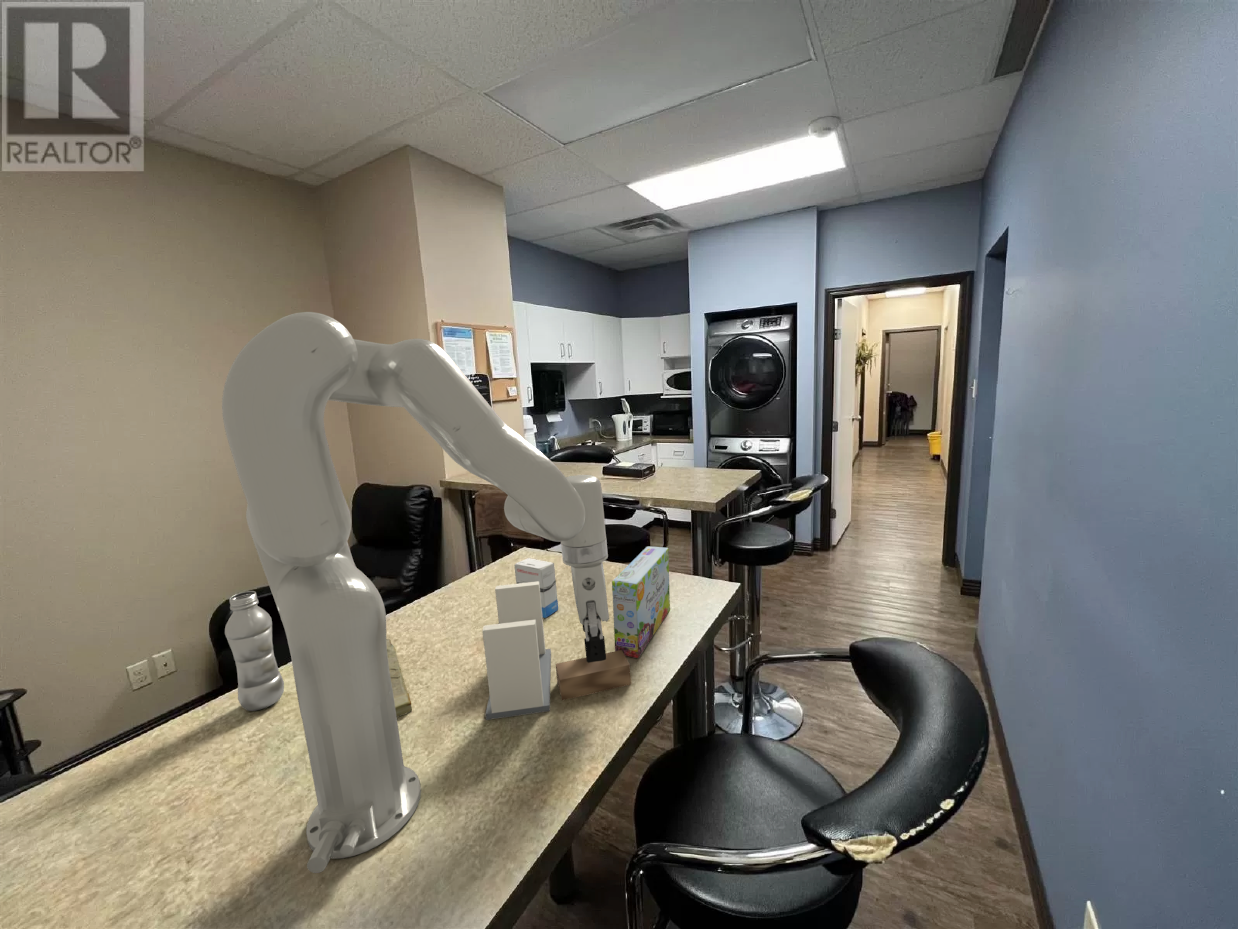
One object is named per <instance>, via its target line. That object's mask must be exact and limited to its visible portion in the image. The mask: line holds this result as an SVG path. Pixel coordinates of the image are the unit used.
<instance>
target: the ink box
mask: <svg viewBox="0 0 1238 929" xmlns="http://www.w3.org/2000/svg"><path fill="white" fill-rule="evenodd" d="M513 566H514V575H515V584H518V583H528V582H537V581H539V586H540V596H541V607H542V618H544V619H547V618H548V617H550V616H551V615H552V614H554V613H555V612H557V611H559V602H558V591H557V581H556V579H557V578H556V570H555V562H551V561H546V560H541V559H535V558H531V557H528V558H525V559H523V560H521V561H518V562H516V563H515V564H514V565H513Z"/></svg>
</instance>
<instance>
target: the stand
mask: <svg viewBox="0 0 1238 929" xmlns="http://www.w3.org/2000/svg"><path fill="white" fill-rule="evenodd" d="M494 592H495V600H496V611H497V619H498V623H495V624H486V625H483V627H482V639H483V648H484V658H485V666H486V672H487V683H488V691H489V696H488V700H487V705H486V709H485V720H486V721H489V720H496V719H500V718H501V719H502V718H503V719H504V718H509V717H517V716H522V715H523V716H524V715H531V714H538V713H544V712H545V713H546V712H551V678H552V677H551V673H552V672H551V670H552V667H551V666H552V650H551V648H546V642H545V640H546V639H545V631H544V630H545V629H544V620H543V617H542V607H541V596H540V586H539V581H537V582H528V583H518V584H516V583H511V584H504V585H503V584H500V585H495V591H494Z"/></svg>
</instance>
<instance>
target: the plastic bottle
mask: <svg viewBox="0 0 1238 929" xmlns="http://www.w3.org/2000/svg"><path fill="white" fill-rule="evenodd" d="M228 600H229V604H230V605H229V609H230V611H231V612H232V613H231V615H230V617H229V618H228V621H227V622H226V624H225V628H224V635H225V638H226V640H227V643H228V645H229V648H230V649H231V652H232V655H233V660H234V661H235V663H234V664H235V666H236V673H237V683H238V685H237V700H238V702H239V705H240V707H241V708H242V709H244V710H245V711H249V712H256V711H260V710H263V709H266V708H268V707H271V706H272V705H274V704H276V703H277V702H278V701H280V699H281V698H282V696H283V694H284V691H285V682H284V679H283V676H282V673H281V672H280V671H279V667H278V663H277V659H276V657H275V653H274V644H273V621H272V617H271V616H270V614H269V613H268V612H267V611H266V610H265V609H264V608H262V607H260V606H258V604H259V603H260V602H259V599H258V595H257V592H256V591H254V590H248V591H243V592H239V593H236V594H234V595H232V596H230V597H229V599H228Z"/></svg>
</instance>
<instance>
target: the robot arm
mask: <svg viewBox="0 0 1238 929" xmlns="http://www.w3.org/2000/svg"><path fill="white" fill-rule="evenodd" d="M229 368H230V369H229V371H228V373H227V376H226V378H225V379H226V380H225V383H224V385H223V391H222V398H221V399H222V400H221V411H222V413H221V414H222V420H223V421H222V422H223V426H224V432H225V435H226V436H225V437H226V439H227V442H228V446H229V449H230V452H231V456H232V460H233V462H234V465H235V470H236V473H237V476H238V480H239V482H240V485H241V490H242V492H243V494H244V498H245V500H246V503H247V507H246V512H245V513H246V514H245V517H246V518H245V519H246V523H247V526H248V530H249V532H250V536H251V538H252V541H253V545H254V547H255V550H256V552H257V556H258V558H259V561H260V564H261V566H262V567H261V568H262V570H263V573H264V575H265V577H266V581H267V583H268V586H269V588H270V591H271V594H272V596H273V599H274V602H275V605H276V609H277V611H278V614H279V616H280V620H281V622H282V625H283V628H284V632H285V636H286V639H287V644H288V648H289V653H290V656H291V657H290V659H291V665H292V671H293V678H294V683H295V690H296V696H297V701H298V706H299V712H300V717H301V720H302V726H303V731H304V737H305V741H306V747H307V753H308V758H309V764H310V765H309V766H310V770H311V774H312V780H313V785H314V791H315V796H316V802H317V805H316V806H315V808H314V810H313V811H312V812H311V814H310V816H309V818H308V821H307V825H306V830H305V831H306V832H305V833H306V838H307V844H308V846H309V848H310V850H311V851H312V854H311V855H310V858H309V860H308V861H307V863H306V868H307V870H308V871H309V872H311V873H313V874H319V873H322V872H323V871H324V870H325V869H326V868H327V867H328V863H329V862H330V860H331V859H332V860H333V859H344V858H350V857H354V856H356V855H357V856H358V855H360V854H363V853H366V852H368V851H370V850H372V849H374V848H376V847H378V846H379V845H381V844H383V843H384V842H386V841H387V840H390V838H391V837H393V836H394V835H395V834H396V833H397V832H399V831H400V830H401V829H402V828H403V826H404V825H406V824H407V823H408V821H409V820H410V819H411V817H412V816H413V814H415V811H416V810H417V808H418V805H419V803H420V800H421V795H422V794H421V793H422V788H421V781H420V779H419V775H418V774H417V773H416V771H415V770H414V769H411V768H410V767H408V766H405V763H404V757H403V751H402V745H401V738H400V737H401V736H400V732H399V726H398V725H399V723H398V717H396V710H395V703H394V696H393V689H392V683H391V678H390V671H389V664H388V656H387V643H386V639H387V613H386V608H385V603H384V601H383V598H382V596H381V594H380V592H379V590H378V588H376V585H375V584H374V583H373V581H372V580H371V579H370V578H369V577H367V575H365V574H364V572H363V571H362V570H360V569H359V568H357V566H356V564H355V562H354V559H353V556H352V553H351V548H350V546H349V543H348V540H349V539H350V538H349V537H350V535H351V532H352V516H351V511H350V508H349V505H348V502H347V501H346V497H345V496H344V493H343V489H342V486H341V483H340V480H339V477H338V473H337V471H336V468H335V465H334V461H333V459H332V455H331V451H330V447H329V446H330V445H329V442H328V438H327V434H326V429H325V421H324V420H325V410H326V407H327V403H328V402H329V401H333V402H340V403H342V402H343V403H349V404H357V405H365V406H366V405H367V406H378V407H390V408H394V407H395V408H404V410H406V412H407V413H408V414H409V415H410V416H411V417H412V418H413V419H414V420H415V421H416V422H417V423H418V424H419V426H421V427H422V428H423V430H424V431H426V432H427V433H428V435H429V436H430V437H431V438H432V439H433V440H434V441H435V442H436V443H437V444H438V445H439V446H440V448H441V449H442V450H443V451H444V452H445V453H446V454H447V455H448V456H449V458H451V459H452V460H453V461H454V462H455V463H456V464H457V465H459V466H460V467H461V468H463V469H465V470H466V471H467V472H469V473H470V474H472V475H474V476H476V477H478V478H480V479H482V480H484V481H486V482H488V483H490V484H491V485H493V486H495V487H496V488H498V489H499V490H501V491H502V492H503V493H505V494H506V495H507V496H506V499H505V501H504V506H503V509H504V510H503V511H504V515H505V518H506V519H507V521H508V522H509V523H510V525H512V526H513V527H514V528H516V529H518V530H521V531H523V532H526V533H528V534H532V535H536V536H538V537H542V538H543V539H546V540H548V541H552V542H555V543H556V542H557V543H559V542H560V548H561V556H562V563H563V564H565V565H566V566H568V567H570V571H571V577H572V578H571V580H572V587H573V594H574V600H575V605H576V610H577V615H578V619H579V624H581V625H582V631H583V632H584V634H585V635H584V636H585V638H583V640H584V641H583V642H584V649H585V658H586V660H587V662H588V663H590V662H596V661H603V660H606V653H607V652H606V640H605V635H604V634H603V627H602V622H606V623H607V622H609V620H610V614H609V613H610V612H609V607H608V606H609V605H608V597H607V587H606V579H605V576H606V575H605V571H604V564H603V562H606V560H607V559H608V557H609V554H608V553H609V552H608V545H607V544H608V542H607V534H606V532H607V531H606V523H605V511H604V502H603V501H604V499H603V492H602V491H603V490H602V484H601V481H600V479H599V478H598V477H597V476H595V475H591V474H577V475H576V474H575V475H570V476H566V475H564V473H563V472H562V471H561V470H560V469H559V467H558V466H557V465H556V464H555V463H554V462H553V461H552V460H551V459H550V458H548V457H547V456H546V455H545V454H544V453H543V452H541V451H540V450H539V449H538V448H536V447H535V446H534V445H532V443H530V442H529V441H528V440H527V439H526V438H524V437H523V436H522V435H521V434H520V433H518V432H517V431H516V430H514V428H511V427H510V426H509V425H508V424H507V423H506V422H504V420H503V419H502V418H501V417H500V416H499V415H498V413H497V412H496V411H495V409H493V407H492V406H491V405H490V403H488V401H487V400H486V399H485V398H484V397H483V395H482V394H481V393H480V392H479V390H478V389H477V388H476V387H475V386H474V384H473V383H472V382H471V380H470V379H469V378H468V377H467V376H466V375H465V373H464V372H463V371H462V370H461V369H460V367H459V366H458V365H457V363H456V362H455V361H454V360H453V359H452V357H451V356H450V355H449V354H448V353H447V352H446V351H445V350H444V348H442V347H440V346H439V345H438V344H437V343H435V342H433V341H431V340H429V339H423V338H409V339H404V340H402V341H398V342H396V343H391V344H386V343H379V342H374V341H366V340H361V339H355V338H354V337H353V335H352V334H351V333H350V331H349V330H348V329H347V328H346V327H345V326H344V325H343V324H342V323H341V322H340V321H338V320H337V319H335V318H333V317H331V316H329V315H326V314H324V313H319V312H314V311H304V312H295V313H292V314H288V315H285V316H283V317H281V318H279V319H278V320H275V321H274V322H272V323H270V324H269V325H268V326H265V328H263V329H262V330H260V332H258V333H257V334H256V335H255V336H253V337H252V338H251V339H250V340H249V341H248V342H247V343H246V344H245V345H244V346H243V347H242V349H241V350H240V351H239V353H238V354H237V355H236V357H235V359H234V360H233V363H232V364H231V367H229Z"/></svg>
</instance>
